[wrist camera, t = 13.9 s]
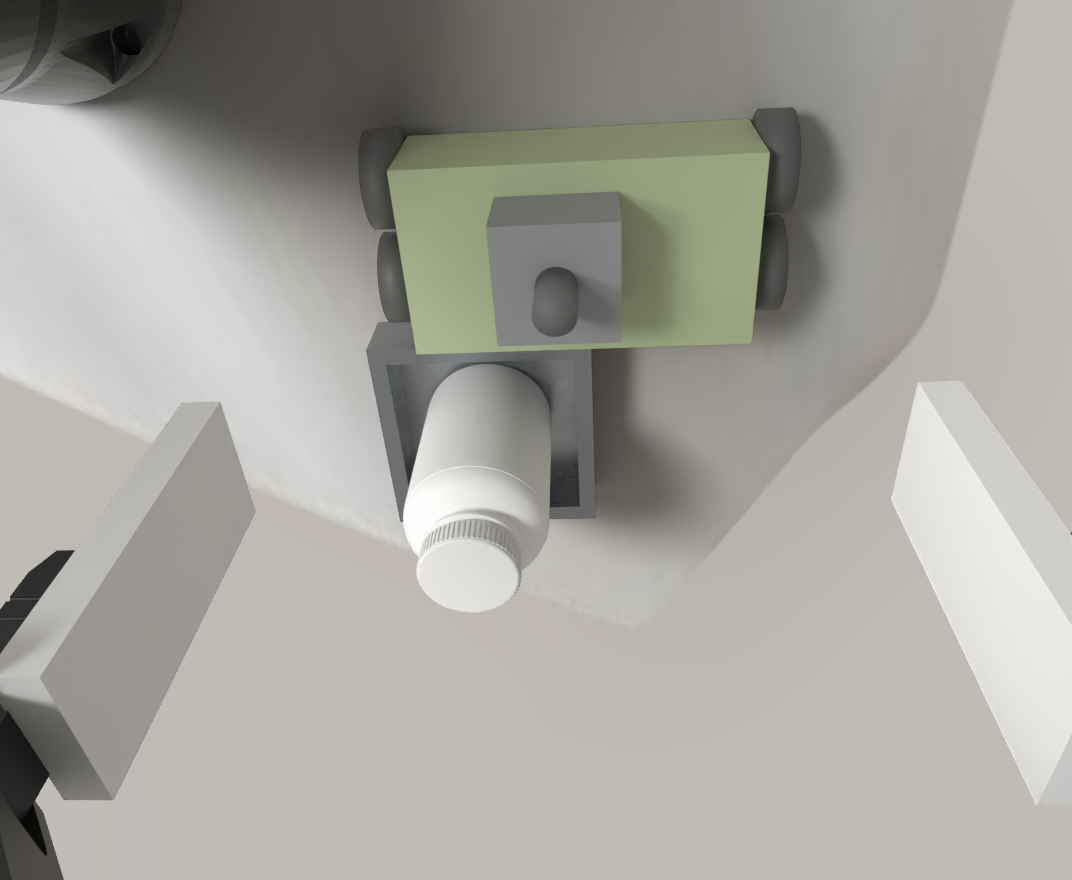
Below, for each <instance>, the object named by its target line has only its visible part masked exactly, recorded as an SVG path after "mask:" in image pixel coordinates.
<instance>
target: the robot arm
mask: <svg viewBox="0 0 1072 880" xmlns="http://www.w3.org/2000/svg"><path fill="white" fill-rule="evenodd" d="M180 5H181V0H0V99H2V100H10V101H17V102H24V103H32V104H41V105H64V104H73V103H79V102H84V101H88V100H91V99H95V98H98V97H100V96H103V95H105V94H107V93H109V92H111V91H113V90H115V89H117V88H119V87H121V86H123V85H125V84H127V83H129V82H130V81H132V80H133V79H135V78H137V77H138V76H139V75H140V74H142V73H143V72H144V71H145V70H146V69H147V68H148V67H149V66H150V65H151V64H152V63H153V62H154V61H155V60H156V59H157V57H158V56H159V55H160V53H161V52H162V50H163V49H164V47H165V46H166V44H167V42H168V40H169V38H170V36H171V34H172V32H173V29H174V26H175V24H176V21H177V17H178V13H179V10H180ZM891 501H892V503H893V505H894V507H895V509H896V511H897V513H898V516H899V517H900V520H901V522H902V524H903V526H904V528H905V530H906V532H907V534H908V536H909V539H910V541H911V543H912V545H913V547H914V549H915V551H916V553H917V555H918V557H919V559H920V562H921V564H922V566H923V568H924V570H925V572H926V574H927V577H928V579H929V580H930V583H931V585H932V587H933V589H934V591H935V593H936V595H937V597H938V600H939V602H940V604H941V606H942V608H943V610H944V612H945V614H946V616H947V618H948V621H949V623H950V625H951V627H952V629H953V631H954V633H955V635H956V638H957V640H958V642H959V644H960V646H961V648H962V650H963V652H964V654H965V656H966V659H967V661H968V663H969V665H970V667H971V669H972V671H973V673H974V675H975V677H976V680H977V682H978V684H979V686H980V688H981V690H982V692H983V694H984V696H985V699H986V700H987V703H988V705H989V707H990V709H991V711H992V713H993V715H994V717H995V720H996V722H997V724H998V726H999V728H1000V730H1001V732H1002V734H1003V736H1004V738H1005V740H1006V742H1007V745H1008V747H1009V749H1010V751H1011V753H1012V755H1013V757H1014V759H1015V762H1016V764H1017V766H1018V768H1019V770H1020V772H1021V774H1022V776H1023V778H1024V781H1025V783H1026V785H1027V787H1028V789H1029V791H1030V793H1031V795H1032V797H1033V799H1034V801H1035V803H1036V806H1072V533H1070V532H1069V531H1068V529H1067V528H1066V526H1065V525H1064V524H1063V522H1062V521H1061V520H1060V518H1059V517H1058V515H1057V514H1056V513H1055V511H1054V510H1053V508H1052V507H1051V506H1050V504H1049V503H1048V501H1047V500H1046V498H1045V497H1044V496H1043V494H1042V493H1041V492H1040V490H1039V489H1038V487H1037V486H1036V484H1035V483H1034V482H1033V480H1032V479H1031V477H1030V476H1029V475H1028V473H1027V472H1026V471H1025V469H1024V468H1023V466H1022V465H1021V463H1020V462H1019V461H1018V459H1017V458H1016V457H1015V455H1014V454H1013V452H1012V451H1011V449H1010V448H1009V447H1008V445H1007V444H1006V442H1005V441H1004V440H1003V438H1002V437H1001V436H1000V434H999V433H998V431H997V430H996V429H995V427H994V426H993V424H992V423H991V421H990V420H989V419H988V417H987V416H986V415H985V413H984V412H983V410H982V409H981V407H980V406H979V405H978V403H977V402H976V401H975V399H974V398H973V396H972V395H971V394H970V392H969V391H968V389H967V388H966V387H965V385H964V384H963V382H962V381H934V382H918V384H917V388H916V393H915V397H914V401H913V406H912V410H911V415H910V419H909V423H908V428H907V432H906V437H905V441H904V445H903V449H902V454H901V458H900V462H899V467H898V471H897V476H896V480H895V484H894V488H893V493H892V497H891ZM254 514H255V508H254V505H253V502H252V499H251V495H250V492H249V490H248V486H247V483H246V480H245V477H244V474H243V471H242V468H241V465H240V462H239V459H238V456H237V452H236V449H235V446H234V443H233V440H232V437H231V434H230V431H229V428H228V425H227V422H226V419H225V416H224V413H223V409H222V406H221V403H220V402H197V403H181V405H180V406H179V407H178V409H177V410H176V412H175V413H174V414H173V416H172V417H171V419H170V420H169V421H168V423H167V424H166V425H165V427H164V428H163V430H162V431H161V432H160V434H159V435H158V436H157V438H156V439H155V441H154V442H153V443H152V445H151V446H150V448H149V449H148V451H147V452H146V453H145V455H144V456H143V458H142V459H141V460H140V461H139V463H138V464H137V466H136V467H135V468H134V470H133V471H132V473H131V474H130V475H129V477H128V478H127V479H126V481H125V482H124V484H123V485H122V487H121V488H120V489H119V491H118V492H117V493H116V495H115V496H114V497H113V499H112V500H111V502H110V503H109V504H108V506H107V507H106V509H105V510H104V511H103V513H102V514H101V515H100V517H99V518H98V520H97V521H96V522H95V524H94V525H93V527H92V528H91V529H90V531H89V532H88V533H87V535H86V536H85V538H84V539H83V540H82V542H81V543H80V544H79V546H78V547H77V549H76V550H67V551H56V552H54V553H53V554H52V555H51V556H49V557H48V558H47V559H45V560H44V561H43V562H42V563H40V564H39V565H38V566H36V567H35V568H34V569H32V570H31V571H30V572H29V573H28V574H27V575H26V577H25V578H24V579H23V580H22V582H21V583H20V584H19V586H18V587H17V588H16V590H15V591H14V592H13V593H12V595H11V596H10V601H9V602H6V603H5V604H4V605H3V607H2V608H1V609H0V880H64V879H63V876H62V873H61V869H60V866H59V863H58V859H57V856H56V853H55V850H54V846H53V843H52V840H51V837H50V833H49V830H48V827H47V824H46V820H45V817H44V814H43V812H42V810H41V809H40V807H39V806H38V805H37V803H36V802H35V799H36V798H37V796H38V794H39V792H40V790H41V789H42V787H43V785H44V784H45V782H46V780H47V778H48V777H49V778H50V779H51V781H52V783H53V784H54V785H55V787H56V789H57V790H58V792H59V793H60V795H61V796H62V798H63V799H64V800H114V798H115V796H116V794H117V792H118V790H119V788H120V786H121V784H122V782H123V780H124V778H125V776H126V774H127V772H128V770H129V768H130V766H131V764H132V762H133V760H134V758H135V756H136V753H137V752H138V749H139V748H140V746H141V744H142V741H143V739H144V737H145V735H146V733H147V731H148V729H149V727H150V725H151V723H152V721H153V719H154V717H155V715H156V713H157V711H158V709H159V707H160V705H161V703H162V701H163V699H164V696H165V695H166V693H167V691H168V689H169V687H170V685H171V683H172V681H173V679H174V677H175V674H176V672H177V670H178V668H179V666H180V664H181V662H182V660H183V658H184V656H185V654H186V652H187V650H188V648H189V646H190V644H191V642H192V640H193V638H194V636H195V634H196V632H197V630H198V628H199V626H200V624H201V622H202V619H203V617H204V615H205V614H206V611H207V610H208V607H209V605H210V603H211V601H212V599H213V597H214V595H215V593H216V591H217V589H218V587H219V585H220V583H221V581H222V579H223V577H224V575H225V573H226V571H227V569H228V567H229V565H230V563H231V561H232V559H233V557H234V555H235V553H236V551H237V549H238V547H239V545H240V542H241V540H242V538H243V536H244V534H245V532H246V530H247V528H248V526H249V524H250V522H251V520H252V518H253V516H254Z"/></svg>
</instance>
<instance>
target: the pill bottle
mask: <svg viewBox="0 0 1072 880" xmlns="http://www.w3.org/2000/svg"><path fill="white" fill-rule="evenodd" d="M551 429H552V420H551V413H550V408H549V404H548V401H547V399H546V397H545V395H544V393H543V392H542V390H541V389H540V388H539V386H538V385H537V384H536V383H535V382H534V381H533V380H532V379H530V378H529V377H528V376H526V375H525V374H523V373H522V372H520V371H518V370H515V369H513V368H510V367H507V366H503V365H498V364H477V365H472V366H468V367H465V368H462V369H460V370H458V371H456V372H454V373H453V374H451V375H450V376H448V377H447V378H446V379H445V380H444V381H443V382H442V383H441V384H440V385H439V387H438V388H437V389H436V391H435V393H434V395H433V397H432V399H431V401H430V404H429V407H428V411H427V416H426V420H425V424H424V428H423V432H422V436H421V440H420V444H419V448H418V452H417V456H416V460H415V464H414V468H413V473H412V477H411V481H410V485H409V489H408V493H407V497H406V501H405V506H404V512H403V523H404V528H405V533H406V536H407V539H408V541H409V544H410V546H411V547H412V549H413V551H414V552H415V553H416V555H417V556H418V562H417V570H416V573H417V577H418V581H419V584H420V585H421V587H422V589H423V590H424V592H425V593H426V594H427V595H428V596H429V597H430V598H431V599H432V600H434V601H435V602H437V603H438V604H440V605H442V606H444V607H446V608H449V609H452V610H456V611H460V612H472V613H474V612H484V611H489V610H492V609H495V608H497V607H500V606H501V605H503V604H505V603H506V602H507V601H509V600H510V599H511V598H512V597H513V596H514V594H515V593H516V591H517V590H518V587H519V586H520V582H521V573H522V570H523V569H524V568H526V567H527V566H528V565H529V564H530V563H531V562H532V561H533V560H534V559H535V558H536V557H537V555H538V554H539V552H540V551H541V549H542V547H543V545H544V543H545V541H546V538H547V534H548V528H549V507H550V468H551Z"/></svg>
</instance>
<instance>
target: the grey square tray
mask: <svg viewBox="0 0 1072 880" xmlns="http://www.w3.org/2000/svg"><path fill="white" fill-rule="evenodd" d="M366 352H367V357H368V362H369V367H370V372H371V377H372V382H373V387H374V392H375V397H376V402H377V407H378V412H379V417H380V422H381V427H382V432H383V437H384V442H385V447H386V452H387V457H388V462H389V467H390V472H391V477H392V482H393V487H394V492H395V497H396V502H397V507H398V512H399V517H400V522H403V512H404V506H405V501H406V497H407V493H408V489H409V485H410V481H411V477H412V473H413V468H414V464H415V460H416V456H417V452H418V448H419V444H420V440H421V436H422V432H423V428H424V424H425V420H426V416H427V411H428V407H429V404H430V401H431V399H432V397H433V395H434V393H435V391H436V389H437V388H438V387H439V385H440V384H441V383H442V382H443V381H444V380H445V379H446V378H447V377H448V376H450V375H451V374H453V373H454V372H456V371H458V370H460V369H462V368H465V367H468V366H472V365H477V364H498V365H503V366H507V367H510V368H513V369H515V370H518V371H520V372H522V373H523V374H525V375H526V376H528V377H529V378H530V379H532V380H533V381H534V382H535V383H536V384H537V385H538V386H539V388H540V389H541V390H542V392H543V393H544V395H545V397H546V399H547V401H548V404H549V408H550V413H551V420H552V429H551V468H550V507H549V519H581V518H596V509H595V466H594V429H593V391H592V354H591V349H572V350H541V351H509V352H478V353H447V354H416V349H415V343H414V336H413V330H412V324H411V322H401V323H390V322H381V323H378V324H377V326H376V329H375V331H374V333H373V336H372V338H371V340H370V343H369V345H368V347H367V350H366Z"/></svg>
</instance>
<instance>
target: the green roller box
mask: <svg viewBox="0 0 1072 880" xmlns="http://www.w3.org/2000/svg"><path fill="white" fill-rule="evenodd" d="M800 158H801V139H800V127H799V121H798V116H797V113H796V111H795V109H794V108H792V107H789V108H770V109H758V110H757V111H756V112H755V115H754V117H753V121H752V123H751V121H750V119H730V120H711V121H691V122H671V123H652V124H632V125H612V126H593V127H573V128H554V129H534V130H514V131H495V132H475V133H455V134H436V135H416V136H408V137H407V138H406V140H405V139H404V136H403V134H402V132H401V130H400V129H399V128H383V129H366V130H364V131H363V133H362V135H361V139H360V144H359V179H360V188H361V194H362V200H363V204H364V209H365V212H366V215H367V218H368V220H369V223H370V224H371V226H372V227H373V228H374V229H396V231H397V232H384V233H383V234H382V235H381V238H380V241H379V246H378V257H377V273H378V286H379V293H380V299H381V304H382V308H383V311H384V314H385V316H386V318H387V320H388V321H389V322H390V323H401V322H411V324H412V330H413V336H414V343H415V349H416V354H447V353H478V352H509V351H541V350H572V349H603V348H634V347H665V346H696V345H727V344H752V335H753V324H754V314H755V310H773V309H779V308H780V307H781V305H782V302H783V299H784V295H785V290H786V284H787V273H788V243H787V234H786V228H785V224H784V221H783V218H782V217H781V216H780V215H771V216H764V213H769V212H788V211H789V210H790V209H791V208H792V205H793V203H794V200H795V196H796V192H797V187H798V181H799V173H800Z"/></svg>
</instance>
